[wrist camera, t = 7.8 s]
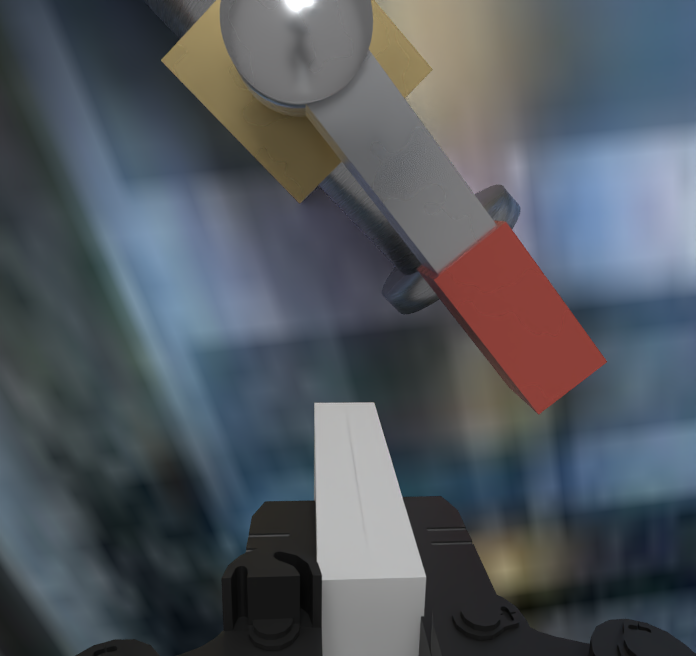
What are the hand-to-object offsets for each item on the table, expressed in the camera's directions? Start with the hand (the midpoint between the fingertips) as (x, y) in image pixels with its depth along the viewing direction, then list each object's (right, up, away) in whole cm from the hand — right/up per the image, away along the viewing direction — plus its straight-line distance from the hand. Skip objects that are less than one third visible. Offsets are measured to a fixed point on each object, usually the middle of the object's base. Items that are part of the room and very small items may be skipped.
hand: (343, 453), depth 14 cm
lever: (+2, +7, +3) cm, 8 cm away
